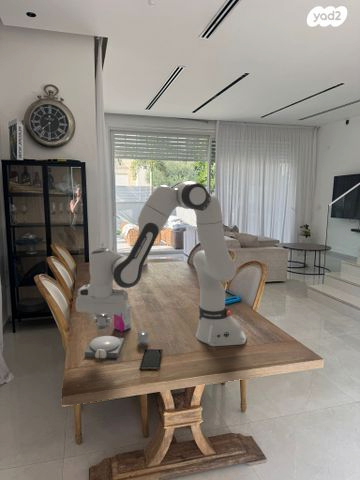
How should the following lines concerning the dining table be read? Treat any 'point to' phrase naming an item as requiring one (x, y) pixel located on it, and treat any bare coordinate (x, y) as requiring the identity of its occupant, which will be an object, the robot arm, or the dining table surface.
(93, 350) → the scale
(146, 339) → the cylinder
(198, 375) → the dining table surface
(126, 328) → the supplement box
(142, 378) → the dining table surface
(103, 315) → the cylinder
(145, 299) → the dining table surface
